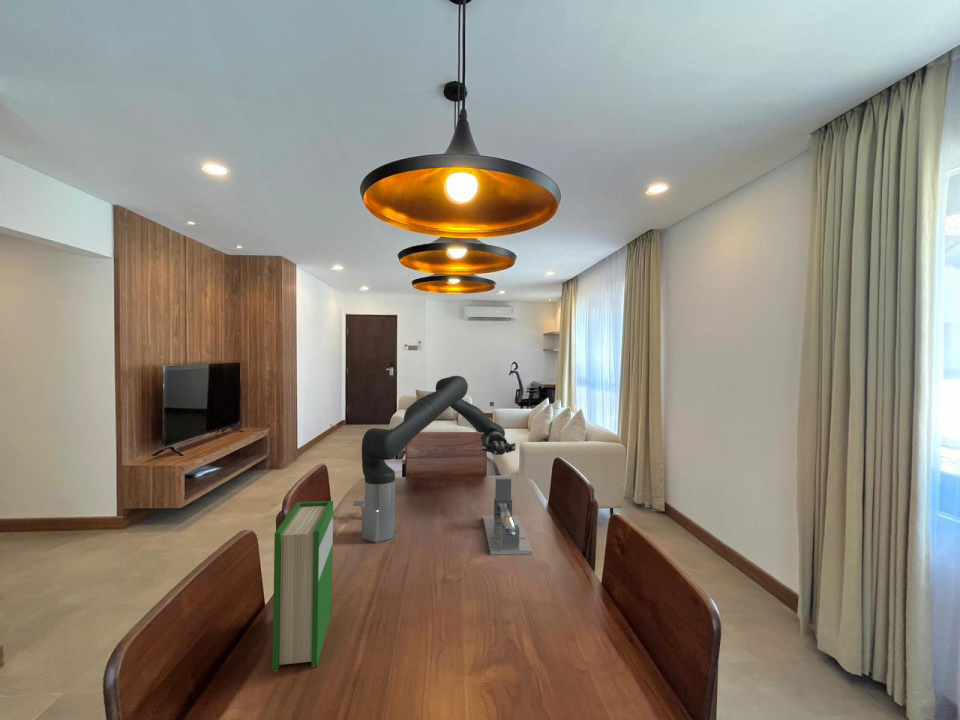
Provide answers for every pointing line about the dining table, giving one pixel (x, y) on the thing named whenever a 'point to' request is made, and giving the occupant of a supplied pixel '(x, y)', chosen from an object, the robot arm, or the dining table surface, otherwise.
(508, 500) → the grey tall slab
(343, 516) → the dining table surface
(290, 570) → the hardback book
